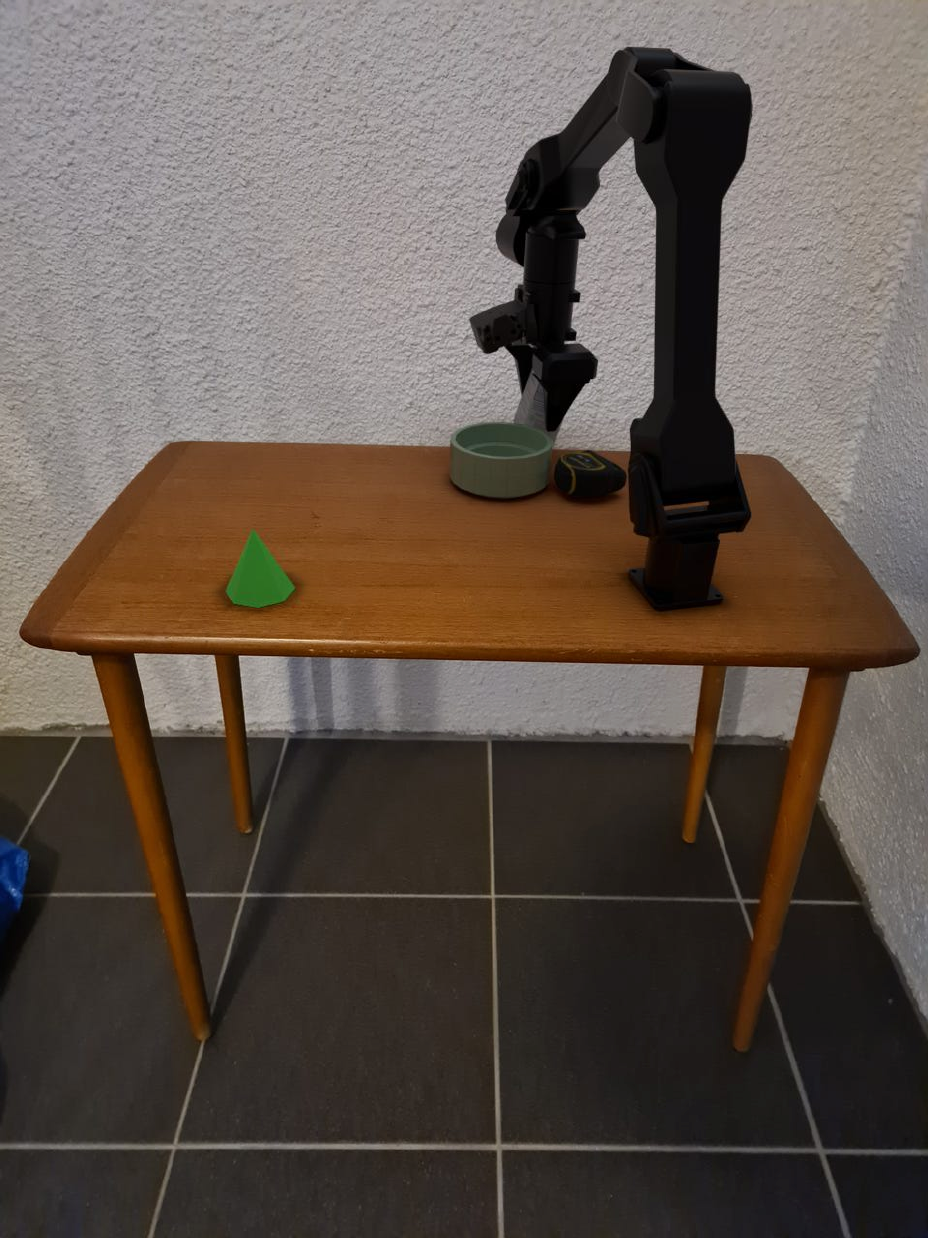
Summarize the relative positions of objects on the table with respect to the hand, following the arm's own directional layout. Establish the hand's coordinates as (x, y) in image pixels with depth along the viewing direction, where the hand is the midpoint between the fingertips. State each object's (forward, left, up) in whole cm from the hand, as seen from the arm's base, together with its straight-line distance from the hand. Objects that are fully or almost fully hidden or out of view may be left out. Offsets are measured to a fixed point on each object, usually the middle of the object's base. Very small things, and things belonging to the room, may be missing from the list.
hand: (538, 417), depth 99 cm
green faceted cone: (-27, +34, -5) cm, 43 cm away
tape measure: (-12, -2, -5) cm, 13 cm away
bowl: (-8, +7, -4) cm, 11 cm away
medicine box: (0, +1, -2) cm, 3 cm away
